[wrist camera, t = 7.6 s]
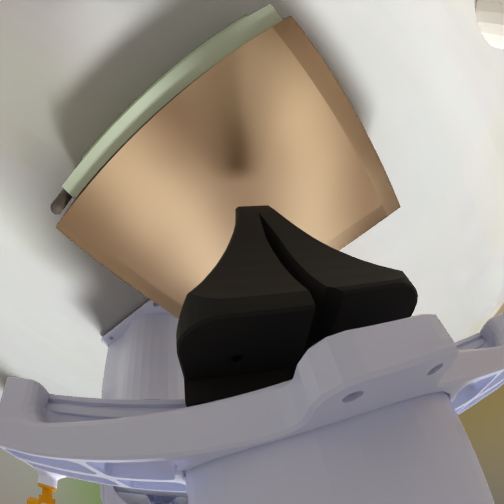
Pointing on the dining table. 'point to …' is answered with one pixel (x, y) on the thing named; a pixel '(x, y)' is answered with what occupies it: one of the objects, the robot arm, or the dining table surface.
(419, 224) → the dining table surface
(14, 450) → the robot arm
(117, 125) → the door
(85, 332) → the dining table surface
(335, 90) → the cabinet
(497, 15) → the capsule
